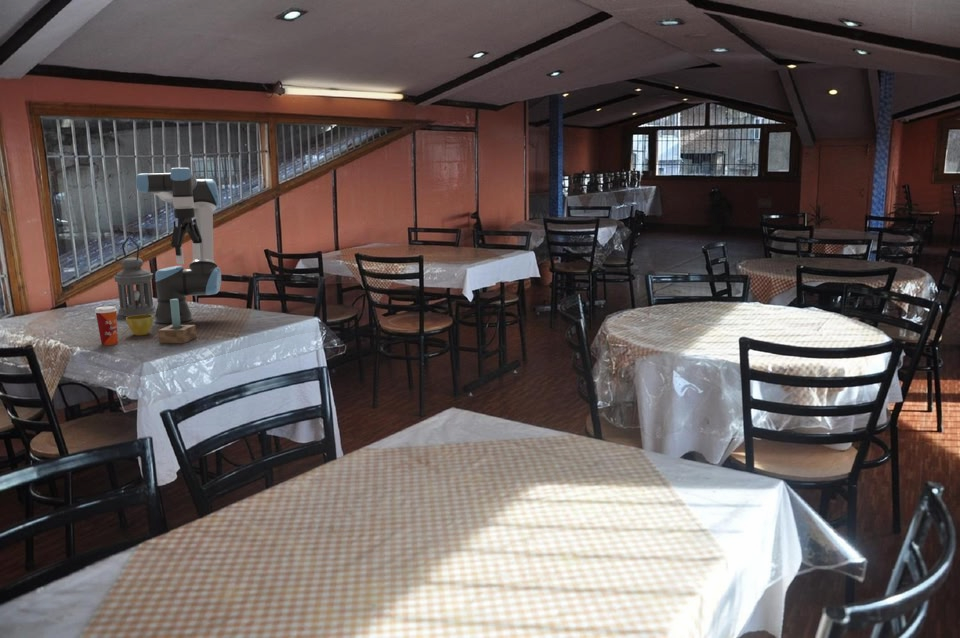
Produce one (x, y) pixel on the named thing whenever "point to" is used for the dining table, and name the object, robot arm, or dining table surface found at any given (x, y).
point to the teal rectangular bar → (175, 313)
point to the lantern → (128, 279)
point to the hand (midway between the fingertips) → (188, 261)
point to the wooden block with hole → (177, 334)
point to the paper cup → (107, 324)
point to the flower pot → (140, 324)
